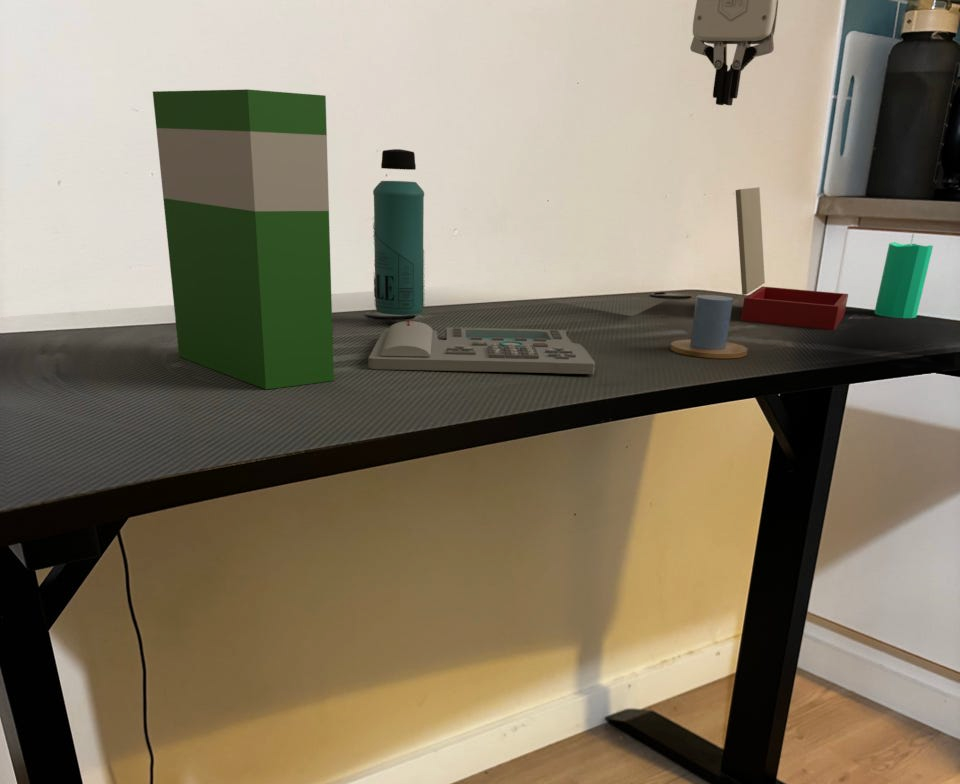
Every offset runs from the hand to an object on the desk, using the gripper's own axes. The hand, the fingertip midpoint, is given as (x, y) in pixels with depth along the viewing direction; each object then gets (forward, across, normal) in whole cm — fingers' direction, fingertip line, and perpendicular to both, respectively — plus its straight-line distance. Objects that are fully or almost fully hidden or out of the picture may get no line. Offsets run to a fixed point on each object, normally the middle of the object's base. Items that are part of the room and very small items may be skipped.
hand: (723, 104), depth 130 cm
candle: (+27, +27, +14) cm, 41 cm away
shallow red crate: (+27, +14, 0) cm, 30 cm away
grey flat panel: (+16, +7, 0) cm, 18 cm away
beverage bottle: (+27, -31, -35) cm, 54 cm away
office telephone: (+27, -14, -48) cm, 57 cm away
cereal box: (+27, -30, -68) cm, 79 cm away
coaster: (+27, +8, -30) cm, 41 cm away
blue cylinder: (+26, +8, -30) cm, 41 cm away
